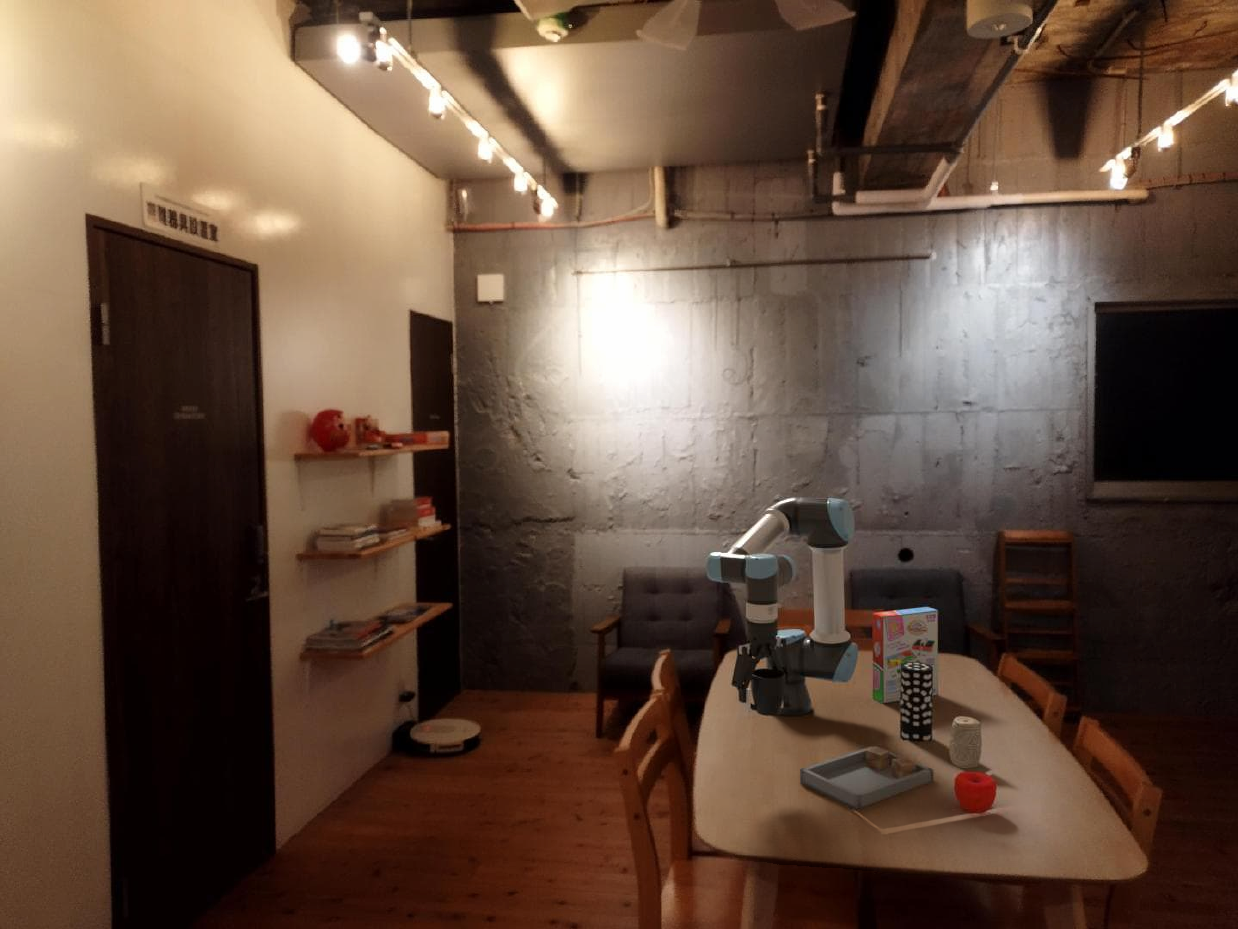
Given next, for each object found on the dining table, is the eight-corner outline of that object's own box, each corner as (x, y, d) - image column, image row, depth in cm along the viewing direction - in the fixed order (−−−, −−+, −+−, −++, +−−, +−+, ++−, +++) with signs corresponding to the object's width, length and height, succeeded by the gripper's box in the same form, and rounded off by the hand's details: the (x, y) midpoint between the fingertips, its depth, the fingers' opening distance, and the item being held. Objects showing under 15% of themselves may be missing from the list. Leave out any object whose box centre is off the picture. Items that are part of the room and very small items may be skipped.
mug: (734, 705, 212) (733, 667, 212) (783, 706, 211) (783, 668, 211) (735, 717, 204) (735, 678, 204) (787, 718, 203) (787, 678, 203)
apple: (974, 823, 187) (975, 788, 186) (944, 806, 195) (944, 772, 194) (1005, 815, 190) (1005, 780, 190) (974, 799, 198) (974, 765, 198)
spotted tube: (931, 734, 237) (932, 663, 236) (932, 746, 229) (933, 672, 228) (900, 731, 240) (900, 660, 239) (899, 742, 232) (900, 669, 231)
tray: (800, 783, 208) (800, 769, 207) (874, 758, 222) (874, 745, 221) (857, 812, 192) (857, 796, 192) (933, 783, 206) (933, 769, 206)
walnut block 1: (866, 766, 215) (866, 750, 215) (874, 761, 218) (874, 746, 217) (880, 771, 212) (880, 755, 212) (889, 766, 215) (889, 750, 214)
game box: (927, 690, 274) (928, 606, 273) (938, 696, 269) (939, 610, 267) (871, 698, 268) (871, 612, 266) (882, 704, 262) (882, 615, 261)
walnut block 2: (891, 775, 209) (891, 759, 209) (905, 773, 211) (905, 757, 210) (901, 782, 206) (901, 766, 205) (916, 780, 207) (916, 763, 207)
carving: (982, 773, 212) (983, 726, 211) (949, 769, 214) (950, 722, 214) (981, 763, 218) (981, 717, 217) (949, 759, 220) (949, 713, 220)
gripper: (735, 629, 197) (736, 725, 199) (807, 615, 209) (807, 706, 211) (715, 623, 204) (716, 715, 205) (785, 610, 216) (785, 697, 217)
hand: (762, 710), depth 208 cm, fingers closed on mug, 10 cm apart
